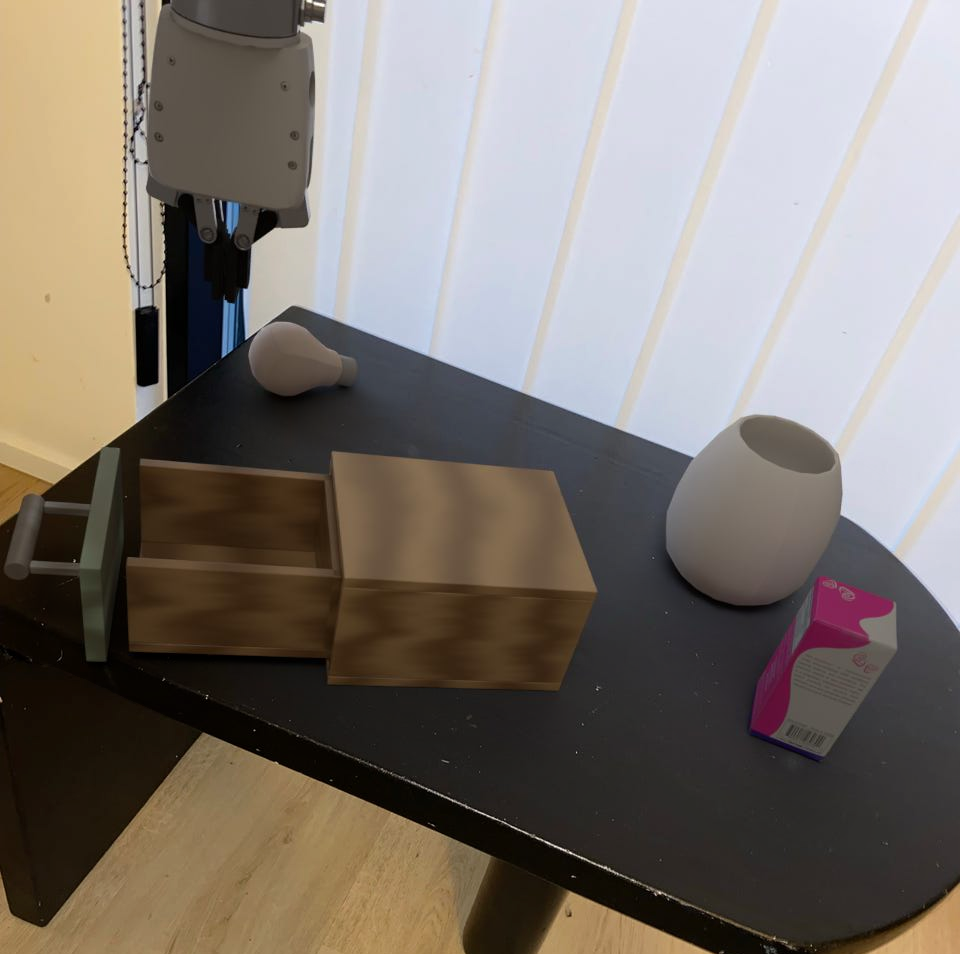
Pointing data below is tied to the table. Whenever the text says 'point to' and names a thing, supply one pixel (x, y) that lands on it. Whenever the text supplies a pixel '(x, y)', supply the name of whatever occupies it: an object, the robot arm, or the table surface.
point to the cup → (755, 510)
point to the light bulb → (296, 361)
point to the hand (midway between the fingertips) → (226, 293)
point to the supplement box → (823, 667)
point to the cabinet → (454, 576)
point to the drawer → (202, 559)
